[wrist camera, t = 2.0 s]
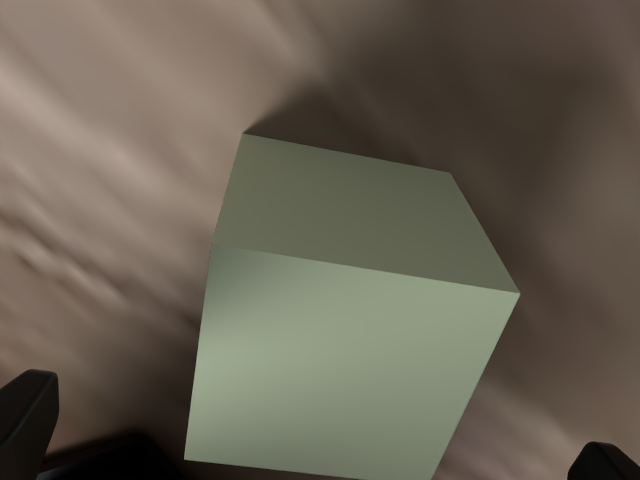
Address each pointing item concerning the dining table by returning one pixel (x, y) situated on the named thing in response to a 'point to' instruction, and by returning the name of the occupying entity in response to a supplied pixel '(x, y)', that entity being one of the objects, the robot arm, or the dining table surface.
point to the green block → (342, 315)
